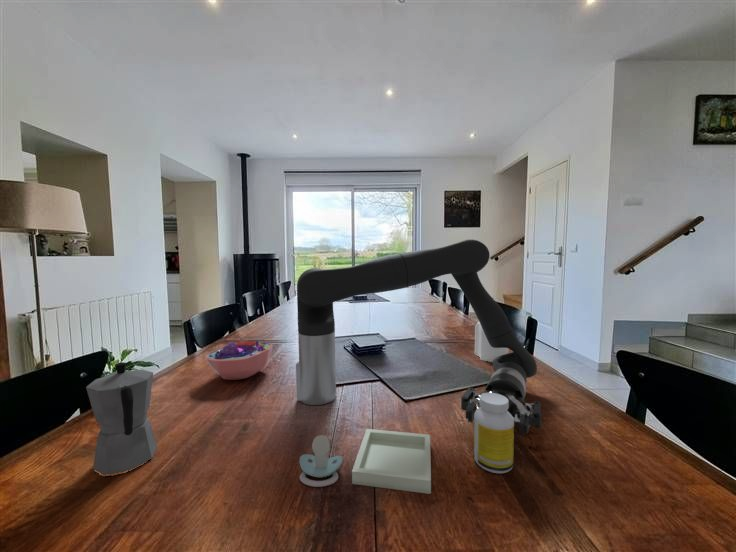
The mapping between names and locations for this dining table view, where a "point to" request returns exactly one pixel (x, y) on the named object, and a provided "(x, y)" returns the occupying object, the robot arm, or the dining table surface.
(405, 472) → the dish
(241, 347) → the cell model
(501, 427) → the pill bottle
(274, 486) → the dining table surface
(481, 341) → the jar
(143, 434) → the coffeepot
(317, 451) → the pacifier
